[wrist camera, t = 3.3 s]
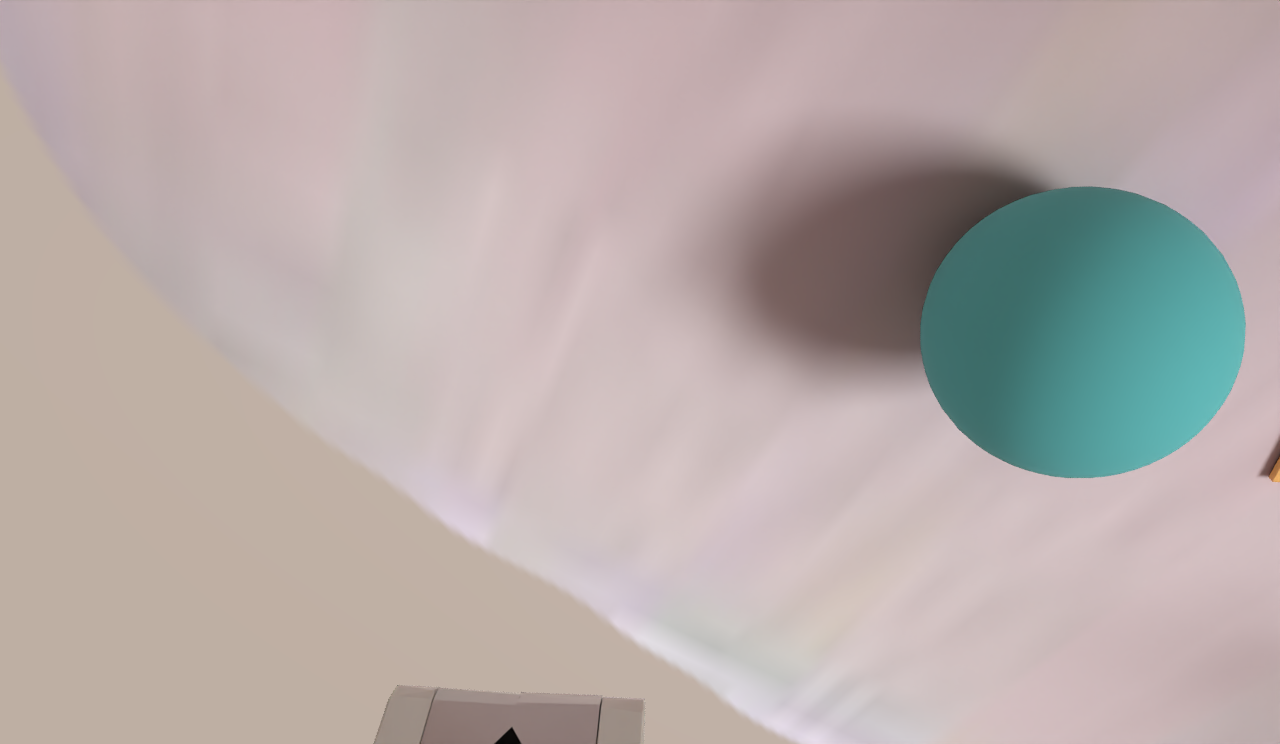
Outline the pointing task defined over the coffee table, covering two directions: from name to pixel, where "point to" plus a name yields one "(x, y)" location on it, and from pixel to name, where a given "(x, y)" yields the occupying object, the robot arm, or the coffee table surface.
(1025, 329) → the ball
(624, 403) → the coffee table surface
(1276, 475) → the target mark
